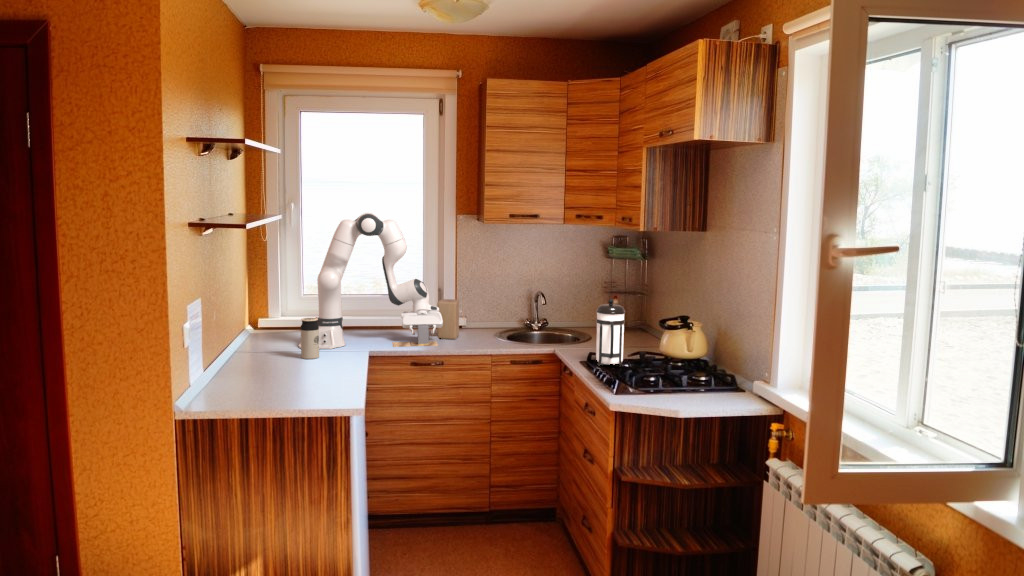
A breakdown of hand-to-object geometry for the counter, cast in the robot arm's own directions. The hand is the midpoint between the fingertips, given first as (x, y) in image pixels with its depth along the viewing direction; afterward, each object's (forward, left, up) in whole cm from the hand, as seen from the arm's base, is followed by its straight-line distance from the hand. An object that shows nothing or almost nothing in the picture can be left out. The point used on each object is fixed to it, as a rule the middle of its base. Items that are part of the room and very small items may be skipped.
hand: (423, 333), depth 377 cm
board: (-4, +1, -7) cm, 8 cm away
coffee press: (+79, -54, -7) cm, 96 cm away
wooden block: (+15, +24, -7) cm, 29 cm away
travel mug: (-53, -18, -7) cm, 56 cm away
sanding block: (0, +1, -5) cm, 5 cm away
